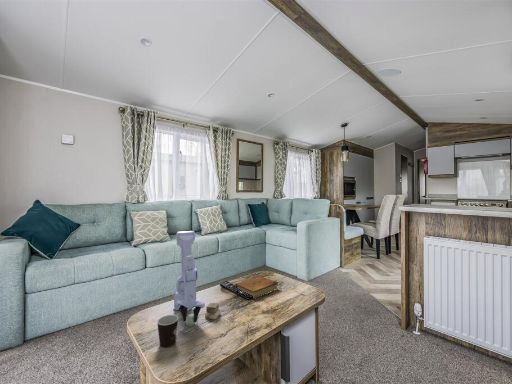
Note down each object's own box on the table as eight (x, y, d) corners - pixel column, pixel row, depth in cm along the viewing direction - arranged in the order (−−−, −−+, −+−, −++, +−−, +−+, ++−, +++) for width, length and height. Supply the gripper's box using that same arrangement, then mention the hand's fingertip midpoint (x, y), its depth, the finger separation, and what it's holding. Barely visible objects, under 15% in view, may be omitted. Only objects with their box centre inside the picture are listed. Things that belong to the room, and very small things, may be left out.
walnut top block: (206, 312, 125) (206, 306, 125) (210, 308, 130) (210, 302, 130) (215, 313, 124) (215, 307, 124) (218, 308, 129) (218, 303, 129)
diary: (259, 283, 176) (259, 275, 176) (278, 290, 162) (278, 282, 162) (235, 291, 160) (235, 283, 160) (253, 300, 147) (253, 290, 147)
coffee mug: (165, 351, 97) (165, 327, 97) (152, 345, 102) (152, 321, 102) (187, 337, 107) (187, 315, 107) (174, 332, 112) (175, 310, 112)
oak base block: (205, 318, 125) (205, 312, 125) (209, 313, 131) (209, 307, 131) (215, 319, 123) (215, 313, 124) (219, 314, 129) (219, 308, 129)
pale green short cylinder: (184, 325, 117) (184, 317, 117) (188, 321, 121) (188, 313, 121) (192, 326, 116) (192, 318, 116) (196, 322, 121) (196, 314, 121)
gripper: (173, 295, 117) (173, 323, 116) (200, 298, 114) (200, 326, 114) (180, 290, 124) (180, 316, 123) (206, 292, 121) (206, 319, 120)
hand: (190, 321), depth 119 cm, fingers open, 5 cm apart
